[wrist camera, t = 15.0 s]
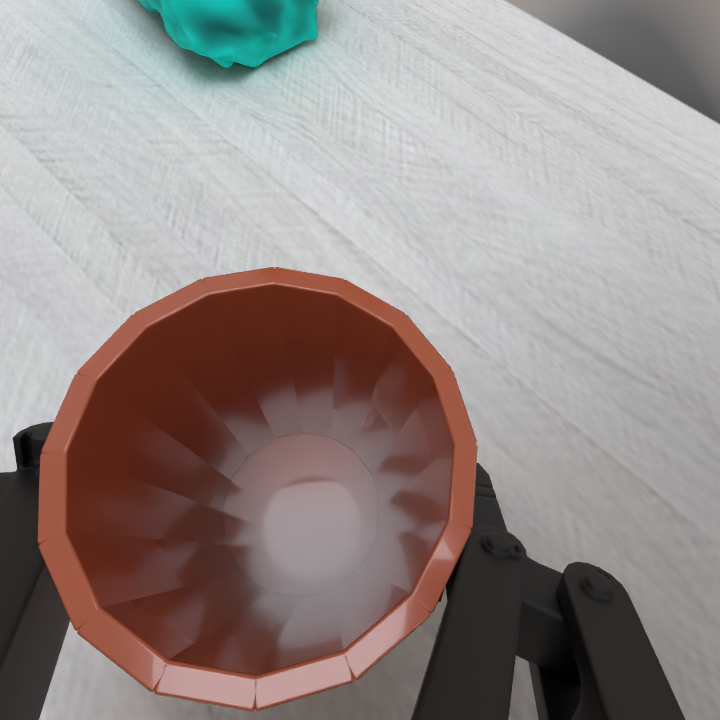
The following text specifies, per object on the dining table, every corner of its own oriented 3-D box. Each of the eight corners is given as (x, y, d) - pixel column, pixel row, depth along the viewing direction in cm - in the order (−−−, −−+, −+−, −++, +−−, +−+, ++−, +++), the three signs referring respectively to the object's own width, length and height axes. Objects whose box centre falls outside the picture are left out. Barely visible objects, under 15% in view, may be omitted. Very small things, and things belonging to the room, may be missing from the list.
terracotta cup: (397, 442, 20) (486, 302, 9) (374, 621, 17) (460, 749, 6) (242, 415, 20) (133, 241, 9) (195, 589, 17) (-54, 658, 6)
